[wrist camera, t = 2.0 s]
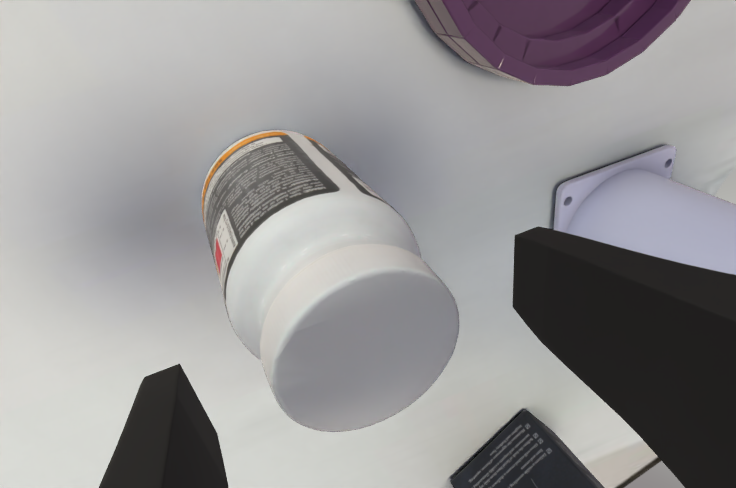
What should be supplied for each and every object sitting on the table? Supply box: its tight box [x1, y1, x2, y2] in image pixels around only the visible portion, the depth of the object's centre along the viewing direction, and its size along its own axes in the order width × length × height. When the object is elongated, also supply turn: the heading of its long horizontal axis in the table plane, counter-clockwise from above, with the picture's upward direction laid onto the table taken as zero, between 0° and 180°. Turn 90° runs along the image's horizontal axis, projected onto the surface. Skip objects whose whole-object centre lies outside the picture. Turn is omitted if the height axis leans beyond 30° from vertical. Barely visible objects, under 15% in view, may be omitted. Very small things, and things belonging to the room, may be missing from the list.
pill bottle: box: [201, 130, 459, 432], centre depth 14 cm, size 6×6×10 cm
